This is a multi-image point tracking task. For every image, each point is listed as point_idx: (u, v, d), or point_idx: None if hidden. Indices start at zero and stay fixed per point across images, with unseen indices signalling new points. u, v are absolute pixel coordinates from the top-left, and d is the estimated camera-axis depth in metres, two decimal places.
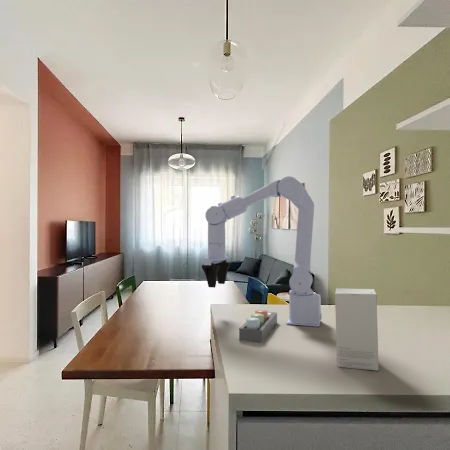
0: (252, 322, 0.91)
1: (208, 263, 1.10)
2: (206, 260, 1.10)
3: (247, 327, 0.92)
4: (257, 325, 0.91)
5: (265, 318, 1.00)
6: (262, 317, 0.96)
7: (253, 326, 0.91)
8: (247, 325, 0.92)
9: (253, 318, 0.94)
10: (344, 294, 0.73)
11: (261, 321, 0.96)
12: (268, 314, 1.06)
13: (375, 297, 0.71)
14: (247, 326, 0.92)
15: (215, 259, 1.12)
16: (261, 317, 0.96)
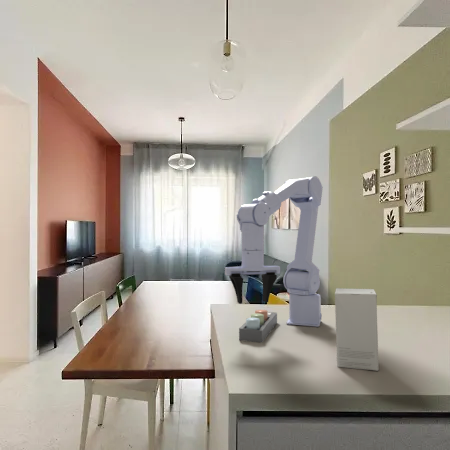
0: (252, 322, 0.91)
1: (226, 273, 0.90)
2: (225, 269, 0.91)
3: (247, 327, 0.92)
4: (257, 325, 0.91)
5: (265, 318, 1.00)
6: (262, 317, 0.96)
7: (253, 326, 0.91)
8: (247, 325, 0.92)
9: (253, 318, 0.94)
10: (344, 294, 0.73)
11: (261, 321, 0.96)
12: (268, 314, 1.06)
13: (375, 297, 0.71)
14: (247, 326, 0.92)
15: (237, 269, 0.90)
16: (261, 317, 0.96)
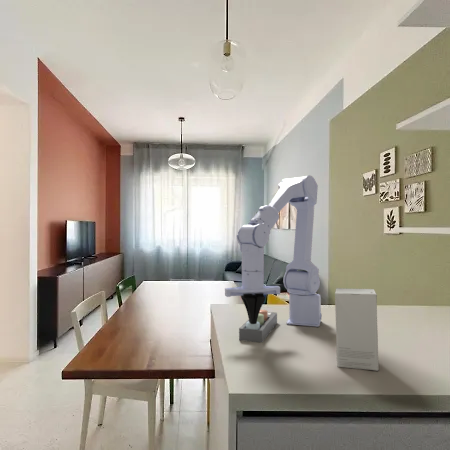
0: (252, 326, 0.91)
1: (226, 295, 0.90)
2: (225, 290, 0.91)
3: None
4: (257, 329, 0.91)
5: (265, 318, 1.00)
6: (262, 317, 0.96)
7: None
8: None
9: None
10: (344, 294, 0.73)
11: (261, 321, 0.96)
12: (268, 314, 1.06)
13: (375, 297, 0.71)
14: None
15: (237, 290, 0.90)
16: (261, 317, 0.96)
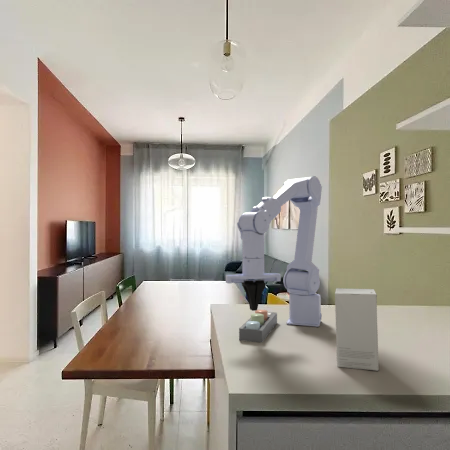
0: (252, 326, 0.91)
1: (227, 281, 0.91)
2: (226, 277, 0.92)
3: None
4: (257, 329, 0.91)
5: (265, 318, 1.00)
6: (262, 317, 0.96)
7: None
8: None
9: (253, 322, 0.93)
10: (344, 294, 0.73)
11: (261, 321, 0.96)
12: (268, 314, 1.06)
13: (375, 297, 0.71)
14: None
15: (238, 277, 0.91)
16: (261, 317, 0.96)
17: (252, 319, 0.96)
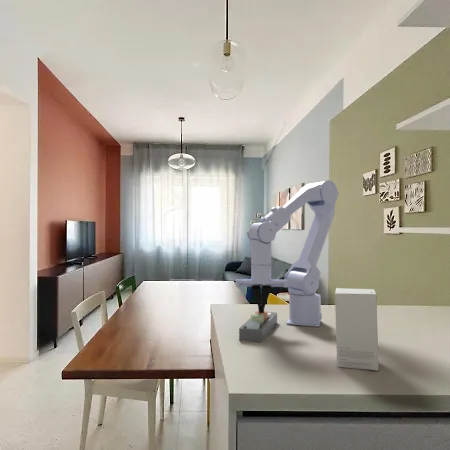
0: (252, 326, 0.91)
1: None
2: None
3: None
4: (257, 329, 0.91)
5: (265, 319, 1.00)
6: (262, 317, 0.96)
7: None
8: None
9: (253, 322, 0.93)
10: (344, 294, 0.73)
11: (261, 321, 0.96)
12: (268, 314, 1.06)
13: (375, 297, 0.71)
14: None
15: (245, 281, 1.00)
16: (261, 317, 0.96)
17: (252, 319, 0.96)
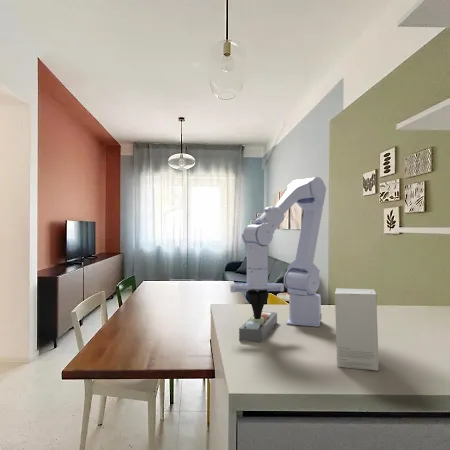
0: (252, 326, 0.91)
1: (231, 290, 0.96)
2: (230, 286, 0.97)
3: None
4: (257, 329, 0.91)
5: None
6: (262, 320, 0.96)
7: None
8: None
9: (253, 322, 0.93)
10: (344, 294, 0.73)
11: (261, 324, 0.96)
12: (268, 314, 1.06)
13: (375, 297, 0.71)
14: None
15: (241, 286, 0.95)
16: (261, 320, 0.96)
17: None
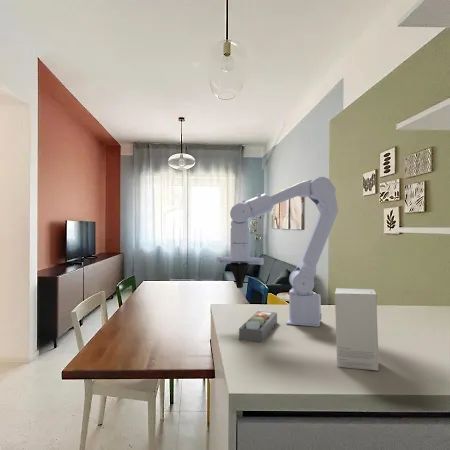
0: (252, 326, 0.91)
1: None
2: None
3: None
4: (257, 329, 0.91)
5: None
6: (262, 321, 0.96)
7: None
8: None
9: (253, 322, 0.93)
10: (344, 294, 0.73)
11: None
12: (268, 314, 1.06)
13: (375, 297, 0.71)
14: None
15: (224, 258, 1.10)
16: (261, 321, 0.96)
17: None
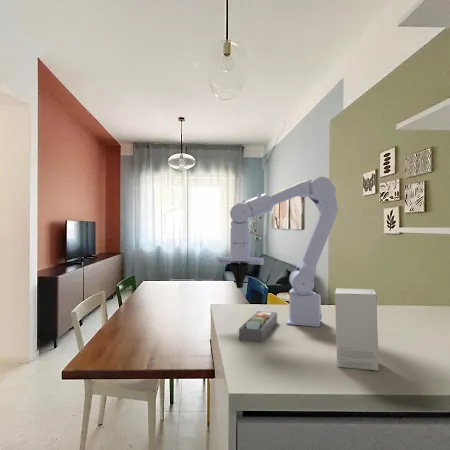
0: (252, 326, 0.91)
1: None
2: None
3: None
4: (257, 329, 0.91)
5: None
6: (262, 321, 0.96)
7: None
8: None
9: (253, 322, 0.93)
10: (344, 294, 0.73)
11: None
12: (268, 314, 1.06)
13: (375, 297, 0.71)
14: None
15: (224, 258, 1.10)
16: (261, 321, 0.96)
17: None
